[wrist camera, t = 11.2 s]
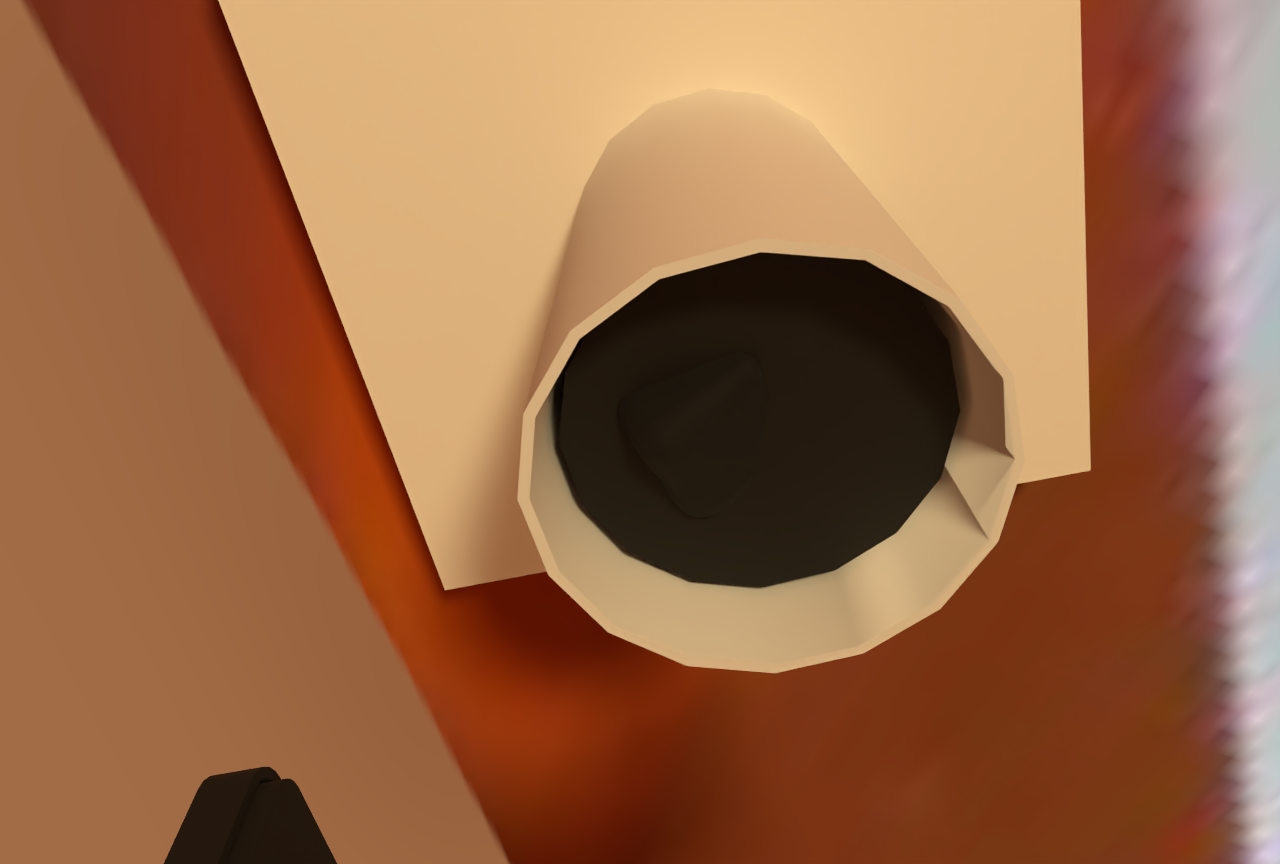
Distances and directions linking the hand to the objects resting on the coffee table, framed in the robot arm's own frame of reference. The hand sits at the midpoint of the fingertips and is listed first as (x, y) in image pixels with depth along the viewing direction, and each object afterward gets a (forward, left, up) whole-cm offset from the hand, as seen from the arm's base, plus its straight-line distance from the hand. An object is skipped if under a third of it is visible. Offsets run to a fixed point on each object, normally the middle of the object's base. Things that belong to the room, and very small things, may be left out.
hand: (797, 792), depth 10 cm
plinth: (0, 0, -18) cm, 18 cm away
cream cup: (0, 0, -15) cm, 15 cm away
